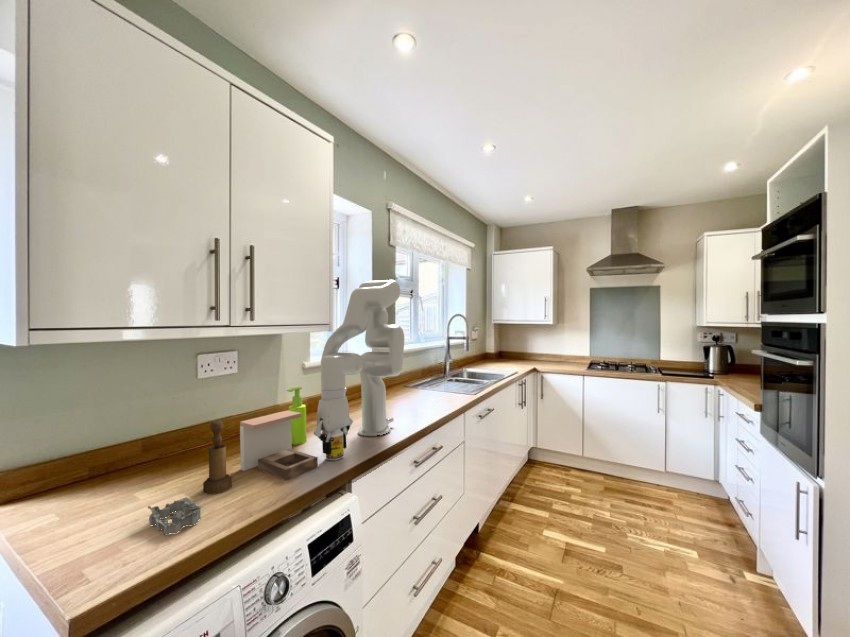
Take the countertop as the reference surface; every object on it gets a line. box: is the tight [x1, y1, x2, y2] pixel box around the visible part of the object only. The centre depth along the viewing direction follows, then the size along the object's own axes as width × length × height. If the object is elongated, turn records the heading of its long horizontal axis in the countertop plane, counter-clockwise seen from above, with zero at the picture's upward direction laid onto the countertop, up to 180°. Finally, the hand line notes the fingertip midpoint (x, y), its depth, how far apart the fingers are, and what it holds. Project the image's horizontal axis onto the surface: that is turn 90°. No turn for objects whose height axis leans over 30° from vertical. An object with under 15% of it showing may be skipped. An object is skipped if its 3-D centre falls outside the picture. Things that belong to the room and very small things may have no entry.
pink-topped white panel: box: [239, 409, 301, 472], centre depth 111 cm, size 16×8×14 cm, turn 145°
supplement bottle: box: [325, 429, 345, 461], centre depth 114 cm, size 6×6×10 cm
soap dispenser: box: [286, 386, 307, 446], centre depth 130 cm, size 6×7×20 cm
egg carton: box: [147, 497, 203, 534], centre depth 78 cm, size 11×8×4 cm
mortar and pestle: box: [202, 419, 233, 495], centre depth 94 cm, size 7×6×18 cm
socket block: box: [257, 449, 319, 481], centre depth 106 cm, size 11×14×3 cm
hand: (334, 450), depth 114 cm, fingers closed on supplement bottle, 5 cm apart
